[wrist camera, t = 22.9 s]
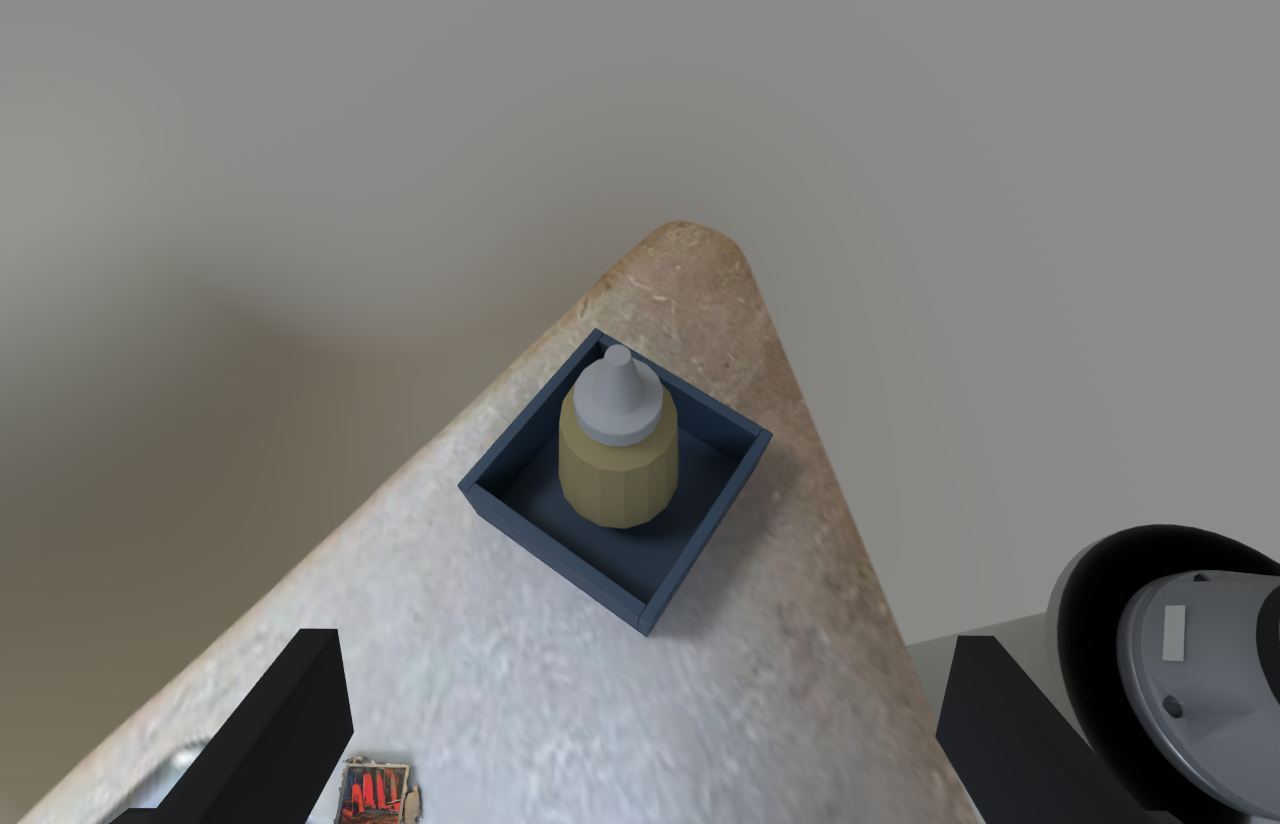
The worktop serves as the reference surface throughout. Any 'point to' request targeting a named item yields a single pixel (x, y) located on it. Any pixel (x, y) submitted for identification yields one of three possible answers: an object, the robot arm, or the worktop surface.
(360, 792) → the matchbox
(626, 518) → the squeeze bottle
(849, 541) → the worktop surface
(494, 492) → the bin
